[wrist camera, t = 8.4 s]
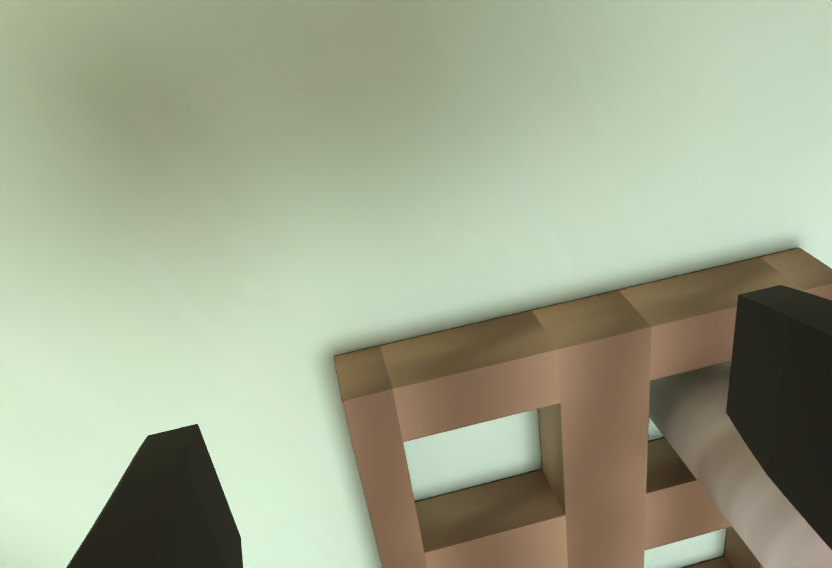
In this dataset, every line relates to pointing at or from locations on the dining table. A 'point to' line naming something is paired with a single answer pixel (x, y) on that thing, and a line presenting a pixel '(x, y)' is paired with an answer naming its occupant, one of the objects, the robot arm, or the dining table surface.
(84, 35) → the dining table surface
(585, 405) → the wooden grid tray
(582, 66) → the dining table surface
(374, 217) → the dining table surface
